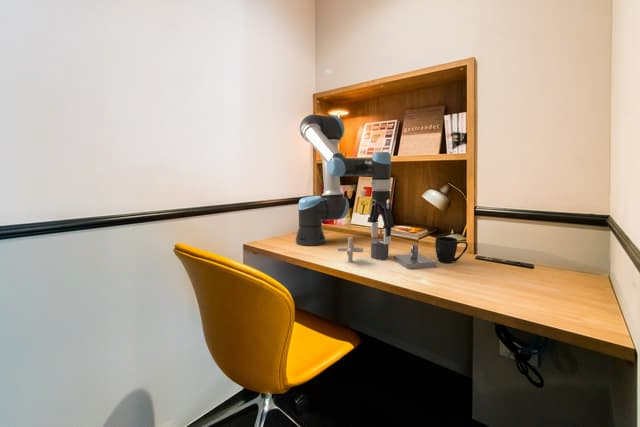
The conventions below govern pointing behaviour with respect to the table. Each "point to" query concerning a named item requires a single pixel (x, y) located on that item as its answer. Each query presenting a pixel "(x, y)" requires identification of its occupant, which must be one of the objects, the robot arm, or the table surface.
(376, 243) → the knob
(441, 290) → the table surface
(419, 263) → the shaft block
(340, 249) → the pipe connector
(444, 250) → the mug
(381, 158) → the robot arm
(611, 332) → the table surface
